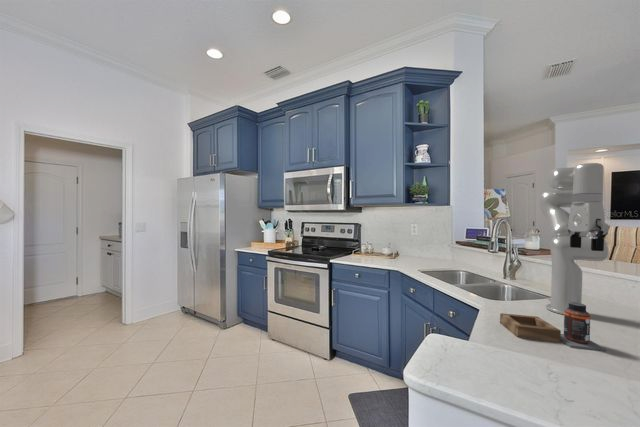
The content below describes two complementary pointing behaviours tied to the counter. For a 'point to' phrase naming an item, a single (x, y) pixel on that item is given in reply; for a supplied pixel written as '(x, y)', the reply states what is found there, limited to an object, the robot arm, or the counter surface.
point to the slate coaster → (581, 344)
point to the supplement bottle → (577, 323)
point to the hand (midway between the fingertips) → (585, 249)
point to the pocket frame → (530, 327)
